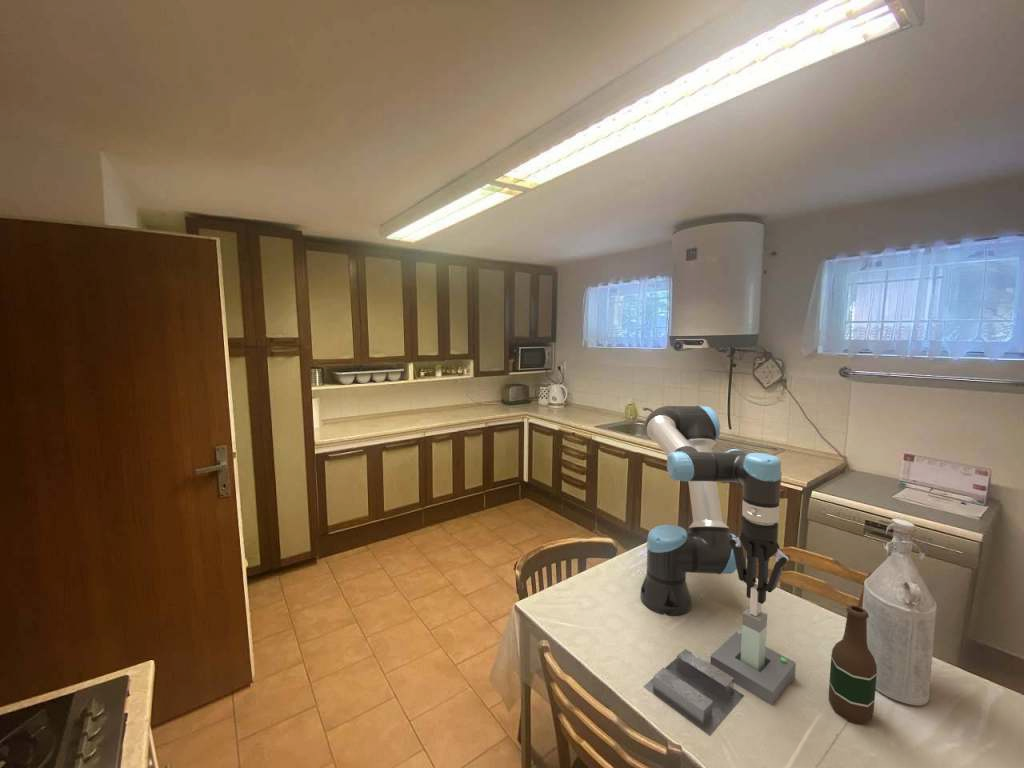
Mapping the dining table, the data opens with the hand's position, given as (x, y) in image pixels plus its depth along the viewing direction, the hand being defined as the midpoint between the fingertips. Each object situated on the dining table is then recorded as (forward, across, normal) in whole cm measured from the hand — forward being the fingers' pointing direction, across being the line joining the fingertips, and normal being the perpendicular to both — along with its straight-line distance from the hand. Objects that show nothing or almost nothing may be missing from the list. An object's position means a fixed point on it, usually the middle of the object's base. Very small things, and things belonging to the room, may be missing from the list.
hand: (755, 612), depth 102 cm
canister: (+16, +22, +24) cm, 36 cm away
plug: (+16, 0, 0) cm, 16 cm away
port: (+16, 0, 0) cm, 16 cm away
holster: (+16, -6, -17) cm, 24 cm away
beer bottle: (+17, +18, +6) cm, 25 cm away
